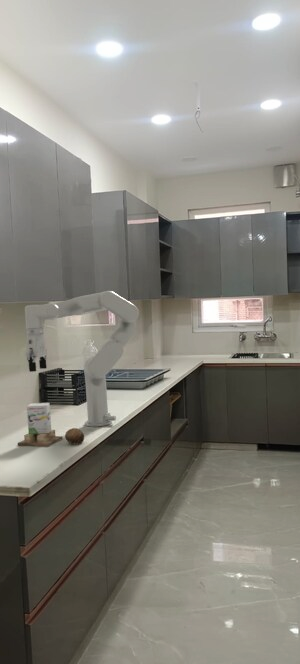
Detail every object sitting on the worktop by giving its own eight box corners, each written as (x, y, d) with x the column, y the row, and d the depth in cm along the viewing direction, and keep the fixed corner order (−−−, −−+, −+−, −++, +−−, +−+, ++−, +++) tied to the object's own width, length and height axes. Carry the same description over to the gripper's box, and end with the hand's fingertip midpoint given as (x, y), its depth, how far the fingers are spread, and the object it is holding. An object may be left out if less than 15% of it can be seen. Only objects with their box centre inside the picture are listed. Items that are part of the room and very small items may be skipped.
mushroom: (61, 434, 207) (67, 422, 205) (79, 438, 210) (85, 427, 208) (62, 447, 201) (68, 436, 198) (80, 452, 204) (87, 440, 201)
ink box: (28, 434, 207) (26, 405, 207) (31, 431, 212) (29, 403, 212) (48, 433, 207) (46, 404, 206) (51, 430, 212) (49, 402, 211)
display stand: (33, 437, 217) (33, 428, 217) (62, 438, 213) (61, 429, 213) (17, 445, 206) (16, 435, 206) (47, 446, 201) (47, 436, 201)
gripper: (33, 333, 220) (36, 372, 220) (51, 330, 236) (54, 367, 237) (17, 334, 222) (20, 372, 222) (36, 331, 238) (39, 367, 239)
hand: (38, 369), depth 230 cm, fingers open, 9 cm apart
